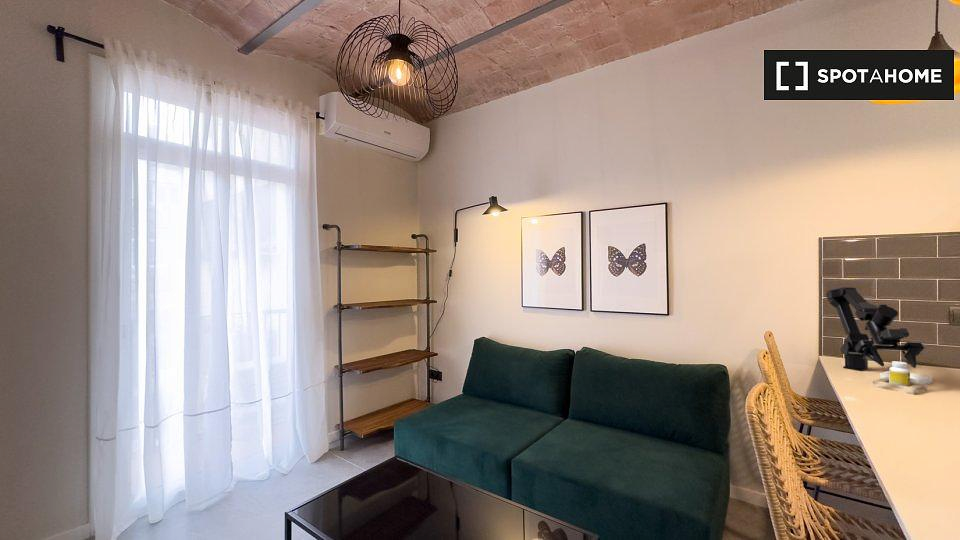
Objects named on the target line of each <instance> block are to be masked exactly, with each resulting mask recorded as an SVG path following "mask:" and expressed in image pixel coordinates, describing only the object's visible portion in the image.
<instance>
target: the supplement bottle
mask: <svg viewBox="0 0 960 540" xmlns="http://www.w3.org/2000/svg"><path fill="white" fill-rule="evenodd" d="M888 371H889V383H892V384H897V385H902V386H907V387H909V386H910V373H911V370H910V369H908V363H907V362H904V361H899V360H898V361H897V360H896V361H893V360H892V361H891V367H889V368H888Z"/></svg>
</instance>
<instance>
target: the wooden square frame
mask: <svg viewBox="0 0 960 540" xmlns="http://www.w3.org/2000/svg"><path fill="white" fill-rule="evenodd" d="M872 387H874V388H881V389H885V390H889V391H895V392H899V393H904V394H909V395H916V394H920V393H923V392H926V391H928V384H927V385H926V384H920V383H915V382H910V386H909V387H907V386H902V385H897V384H892V383H889V378H888V377H886V378H882V379H880V378H879V379H876V380H875V379H874V380H873V381H872Z"/></svg>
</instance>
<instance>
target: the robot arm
mask: <svg viewBox="0 0 960 540" xmlns="http://www.w3.org/2000/svg"><path fill="white" fill-rule="evenodd" d="M825 297H826V300H827V301H828V302H829V305H831V306H832V307H834V308H836V311H837V314H838V317H839V320H840V322H841V324H842V327H843V329H844V332H845V337H844V340H843V344H842V346H841V347H840V348H839V349H840V354H842V355H844V365H843V366H842V368H844V369H850V370H853V371H854V370H855V371H859V372H860V371H866V370H869V361H868V358H869V359H870V360H872V361H873V362H875V363H877V364H878V365H879V366H881V367H884V366H885V363H884V361H883V359H882V357H881V355H880V354H879V351H878V350H880V351H881V350H882V351H894V352H895V351H896V352H898V351H899V352H902V354H903V357H904V358H905V360H906V361H907V362H908V364H909V365H910V366H911V368H913V369H916V368H917V356H918V355H920V354H921V353H922V351H923V350H924V349H925V346H924V345H923V342H919V341H906V342H905V343H904V345H903V344H900V342H901V339H905V338H908V337H910V333H909V330H908V329H907V328H903V327H902V328H889V327H888V326H890V325H892V323H893V322H894V321H895V320H896V318H897V317H898V315H899V312H898V311H897V310H896V309H895V308H893V307H890V306H889V305H887V304H879V305H875V304H873V303H869V302H868V301H867V300H866V299H865V298H864V297H863V296H862V295H861V294H860V292H858V291H857V288H856V287H851V286H849V287H848V286H842V287H839V288H835V289H829V290H828V291H826V293H825ZM851 306H852V307H853V308H854V309H855V316H856V318H857V319H858V320H859V321H861V322H864V321H865V322H866V323H865V326H864V330H865V331H868V332H869V334H870V336H871V338H870V339H869V335H867V333H862V332H861V331H860V328H859V326H858V323H857V320H856V319H855V316H854V313H853V311H852V309H851ZM899 344H900V345H899ZM867 357H868V358H867Z"/></svg>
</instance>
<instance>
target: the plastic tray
mask: <svg viewBox="0 0 960 540" xmlns="http://www.w3.org/2000/svg"><path fill="white" fill-rule="evenodd" d="M879 377H880V378H879V379H882V378H886V377H888V378H889V370H887V371H884V372H880V375H879ZM910 382H915V383H920V384H926V385H927V386H928V385H929V384H932V383H933V376H932V375H925V374H921V373H916V372H915V373H914V372H910Z"/></svg>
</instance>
